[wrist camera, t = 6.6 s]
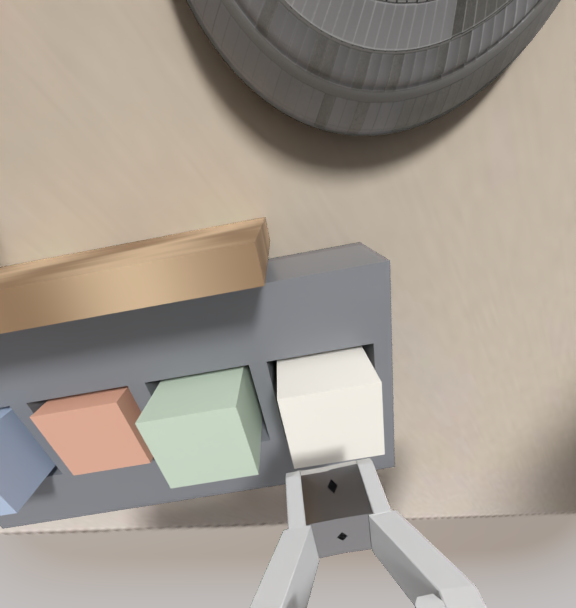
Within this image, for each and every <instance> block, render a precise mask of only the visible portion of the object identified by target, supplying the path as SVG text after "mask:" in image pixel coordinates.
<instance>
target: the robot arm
mask: <svg viewBox="0 0 576 608" xmlns="http://www.w3.org/2000/svg"><path fill="white" fill-rule="evenodd" d="M285 480H286V499H287V518H288V529H286V530H283V532H282V535H281V537H280V539H279V542H278V544H277V546H276V549H275V551H274V553H273V555H272V558H271V560H270V562H269V564H268V567H267V569H266V571H265V574H264V576H263V578H262V581H261V583H260V585H259V587H258V590H257V592H256V594H255V597H254V599H253V601H252V604H251V606H250V608H307V604H308V601H309V597H310V593H311V589H312V586H313V582H314V578H315V575H316V571H317V567H318V564H319V558H323V557H327V556H332V555H337V554H342V553H347V552H354V551H361V550H368V549H372V551H373V553H374V554H375V555H376V556H377V558H378V559H379V560H380V562H381V563H382V564H383V566H384V567H385V568H386V569H387V571H388V572H389V573H390V574H391V576H392V577H393V578H394V580H395V581H396V582H397V584H398V585H399V586H400V587H401V589H402V590H403V591H404V592H405V594H406V595H407V596H408V598H409V599H410V600H411V602H412V603H413V604H414V606H415V608H487V606H486V604H485V602H484V600H483V599H482V597H481V595H480V593H479V591H478V589H477V587H476V585H475V584H473V582H472V581H471V580H470V579H468V578H467V577H466V576H465V575H464V574H463V573H462V572H461V571H460V570H459V569H458V568H457V567H456V566H454V564H453V563H452V562H451V561H449V560H448V559H447V558H446V557H445V556H444V555H443V554H442V553H441V552H440V551H439V550H438V549H437V548H436V547H435V546H433V544H431V543H430V542H429V541H428V540H427V539H426V538H425V537H424V536H423V535H422V534H421V533H420V532H419V531H418V530H417V529H416V528H414V527H413V525H411V524H410V523H409V522H408V521H407V520H406V519H405V518H404V517H403V516H402V515H401V514H400V513H399V512H398V511H397V510H391V508H390V506H389V503H388V500H387V498H386V495H385V493H384V490H383V487H382V485H381V482H380V480H379V477H378V474H377V472H376V469H375V467H374V464H373V461H372V460H371V459H370V458H367V459H362V460H357V461H350V462H345V463H340V464H335V465H330V466H326V467H321V468H315V469H309V470H303V471H296V472H290V473H286V479H285Z"/></svg>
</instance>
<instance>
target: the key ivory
mask: <svg viewBox="0 0 576 608" xmlns="http://www.w3.org/2000/svg"><path fill="white" fill-rule="evenodd" d="M277 401H278V405H279V409H280V413H281V417H282V421H283V425H284V429H285V433H286V437H287V441H288V445H289V449H290V453H291V457H292V461H293V465H294V469H297V468H303V467H309V466H316V465H322V464H328V463H335V462H341V461H347V460H353V459H360V458H366V457H372V456H379V455H385V446H384V424H383V401H382V382H381V380H380V378H379V376H378V375H377V373H376V371H375V369H374V367H373V366H372V364H371V362H370V360H369V358H368V357H367V355H366V353H365V351H364V349H363V348H362V346H355V347H349V348H343V349H338V350H332V351H326V352H320V353H314V354H309V355H303V356H297V357H291V358H285V359H280V360H277Z"/></svg>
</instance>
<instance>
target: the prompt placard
mask: <svg viewBox="0 0 576 608" xmlns="http://www.w3.org/2000/svg"><path fill="white" fill-rule="evenodd" d="M269 246H270V238H269V233H268V228H267V223H266V218H265V217H263V218H258V219H253V220H247V221H242V222H237V223H232V224H226V225H221V226H216V227H211V228H205V229H200V230H195V231H189V232H184V233H179V234H174V235H168V236H163V237H158V238H152V239H147V240H142V241H137V242H131V243H126V244H121V245H116V246H110V247H105V248H100V249H94V250H89V251H84V252H79V253H73V254H68V255H63V256H58V257H52V258H47V259H42V260H36V261H31V262H26V263H21V264H15V265H10V266H5V267H0V334H2V333H8V332H13V331H19V330H24V329H30V328H35V327H41V326H46V325H52V324H57V323H63V322H68V321H74V320H79V319H85V318H90V317H96V316H101V315H107V314H112V313H118V312H123V311H129V310H134V309H140V308H145V307H151V306H156V305H162V304H167V303H173V302H178V301H184V300H190V299H195V298H201V297H206V296H212V295H217V294H223V293H228V292H234V291H239V290H245V289H250V288H256V287H261V286H265V279H266V271H267V263H268V254H269Z"/></svg>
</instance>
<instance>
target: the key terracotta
mask: <svg viewBox="0 0 576 608" xmlns="http://www.w3.org/2000/svg"><path fill="white" fill-rule="evenodd" d="M141 413H142V412H141V411H140V409H139V407H138V405H137V403H136V401H135V399H134V397H133V395H132V393H131V392H130V390H129V388H128V386H123V387H117V388H111V389H106V390H100V391H94V392H88V393H82V394H77V395H71V396H65V397H59V398H53V399H49V400H48V401H47V402H46V403H44V404H43V405H42V406H41V407H40V408H39V409H38V410H37V411H36V412H35V413H34V414H32V415H31V416H30V419H31V420H32V421H33V423H34V424H35V425H36V427H37V428H38V429H39V431H40V432H41V433H42V435H43V436H44V437H45V438H46V440H47V441H48V442H49V444H50V445H51V446H52V448H53V449H54V450H55V452H56V453H57V454H58V456H59V457H60V458H61V460H62V461H63V462H64V463H65V465H66V466H67V467H68V469H69V470H70V471H71V473H72V474H73V475H80V474H87V473H93V472H99V471H105V470H111V469H117V468H123V467H130V466H136V465H142V464H148V463H151V461H152V459H153V455H152V454H151V452H150V450H149V448H148V446H147V445H146V443H145V441H144V439H143V437H142V436H141V434H140V432H139V430H138V428H137V427H136V425H135V423H136V421H137V419H138V418H139V416H140V414H141Z"/></svg>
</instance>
